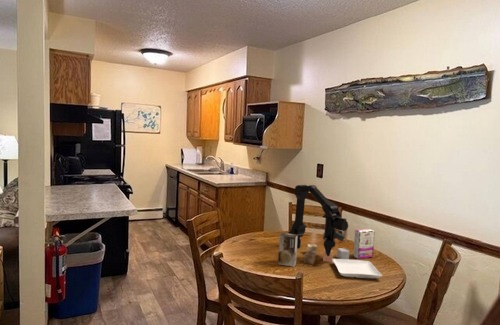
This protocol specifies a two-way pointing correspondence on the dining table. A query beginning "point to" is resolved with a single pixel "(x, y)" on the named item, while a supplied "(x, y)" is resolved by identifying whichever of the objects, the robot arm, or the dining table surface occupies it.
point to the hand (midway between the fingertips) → (327, 253)
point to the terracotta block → (327, 258)
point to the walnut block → (309, 257)
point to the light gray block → (342, 253)
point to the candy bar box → (364, 243)
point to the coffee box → (287, 249)
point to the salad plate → (356, 268)
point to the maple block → (312, 248)
